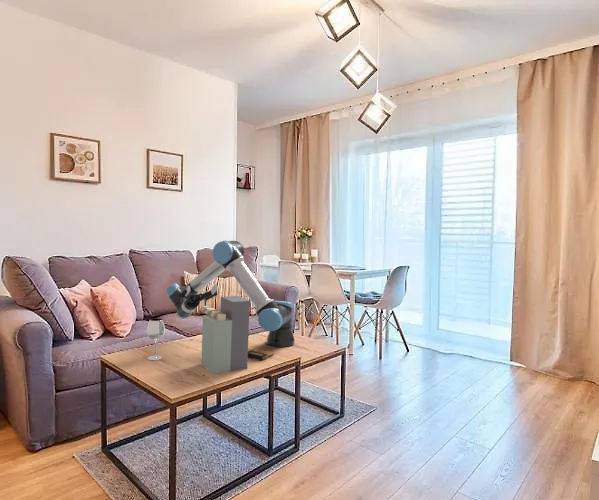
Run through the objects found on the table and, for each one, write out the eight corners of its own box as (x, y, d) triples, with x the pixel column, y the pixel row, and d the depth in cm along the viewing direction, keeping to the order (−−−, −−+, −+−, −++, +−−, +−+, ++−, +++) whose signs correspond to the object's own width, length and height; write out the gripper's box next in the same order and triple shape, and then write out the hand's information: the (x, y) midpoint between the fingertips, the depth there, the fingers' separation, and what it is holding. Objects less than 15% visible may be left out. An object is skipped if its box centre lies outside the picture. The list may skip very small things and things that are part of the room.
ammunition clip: (243, 352, 194) (258, 347, 204) (243, 356, 194) (257, 351, 204) (262, 356, 188) (275, 351, 199) (261, 360, 188) (275, 355, 199)
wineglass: (157, 354, 192) (158, 316, 191) (168, 358, 187) (169, 319, 186) (142, 358, 185) (143, 319, 184) (152, 362, 180) (153, 322, 179)
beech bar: (201, 311, 189) (201, 305, 188) (207, 310, 190) (208, 305, 190) (218, 321, 170) (219, 315, 170) (225, 320, 172) (225, 314, 172)
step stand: (201, 364, 181) (203, 297, 179) (234, 359, 189) (236, 295, 188) (212, 373, 169) (214, 302, 168) (247, 368, 177) (249, 300, 176)
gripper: (214, 308, 219) (228, 293, 203) (167, 312, 205) (178, 296, 189) (212, 295, 222) (225, 279, 206) (165, 298, 208) (176, 281, 192)
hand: (203, 287), depth 198 cm, fingers open, 13 cm apart
